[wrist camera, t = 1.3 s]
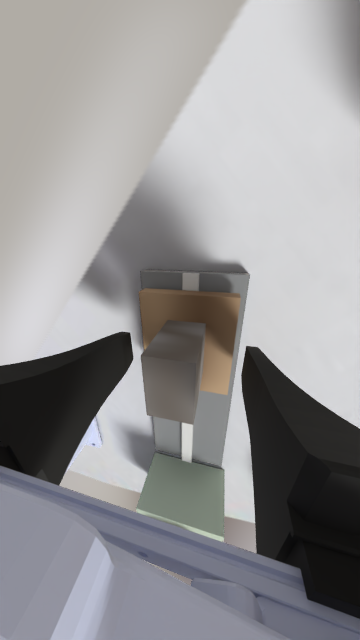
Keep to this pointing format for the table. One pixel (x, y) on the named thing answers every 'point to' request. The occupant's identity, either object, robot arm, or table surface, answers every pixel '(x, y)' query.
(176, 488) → the pale green block
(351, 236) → the table surface
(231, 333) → the carriage
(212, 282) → the track
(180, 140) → the table surface
